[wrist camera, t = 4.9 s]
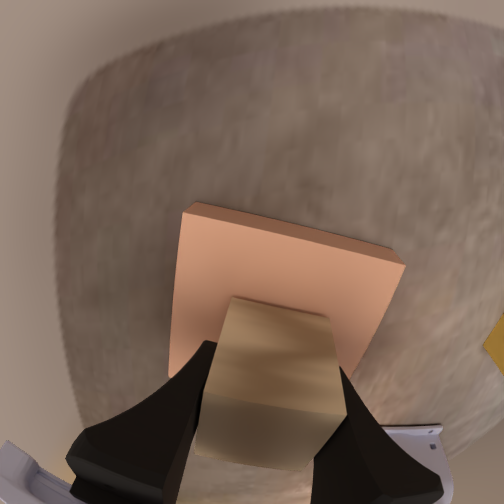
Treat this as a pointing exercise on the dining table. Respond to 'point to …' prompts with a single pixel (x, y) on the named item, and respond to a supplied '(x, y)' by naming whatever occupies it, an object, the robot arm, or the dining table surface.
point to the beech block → (271, 388)
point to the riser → (276, 279)
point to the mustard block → (496, 344)
